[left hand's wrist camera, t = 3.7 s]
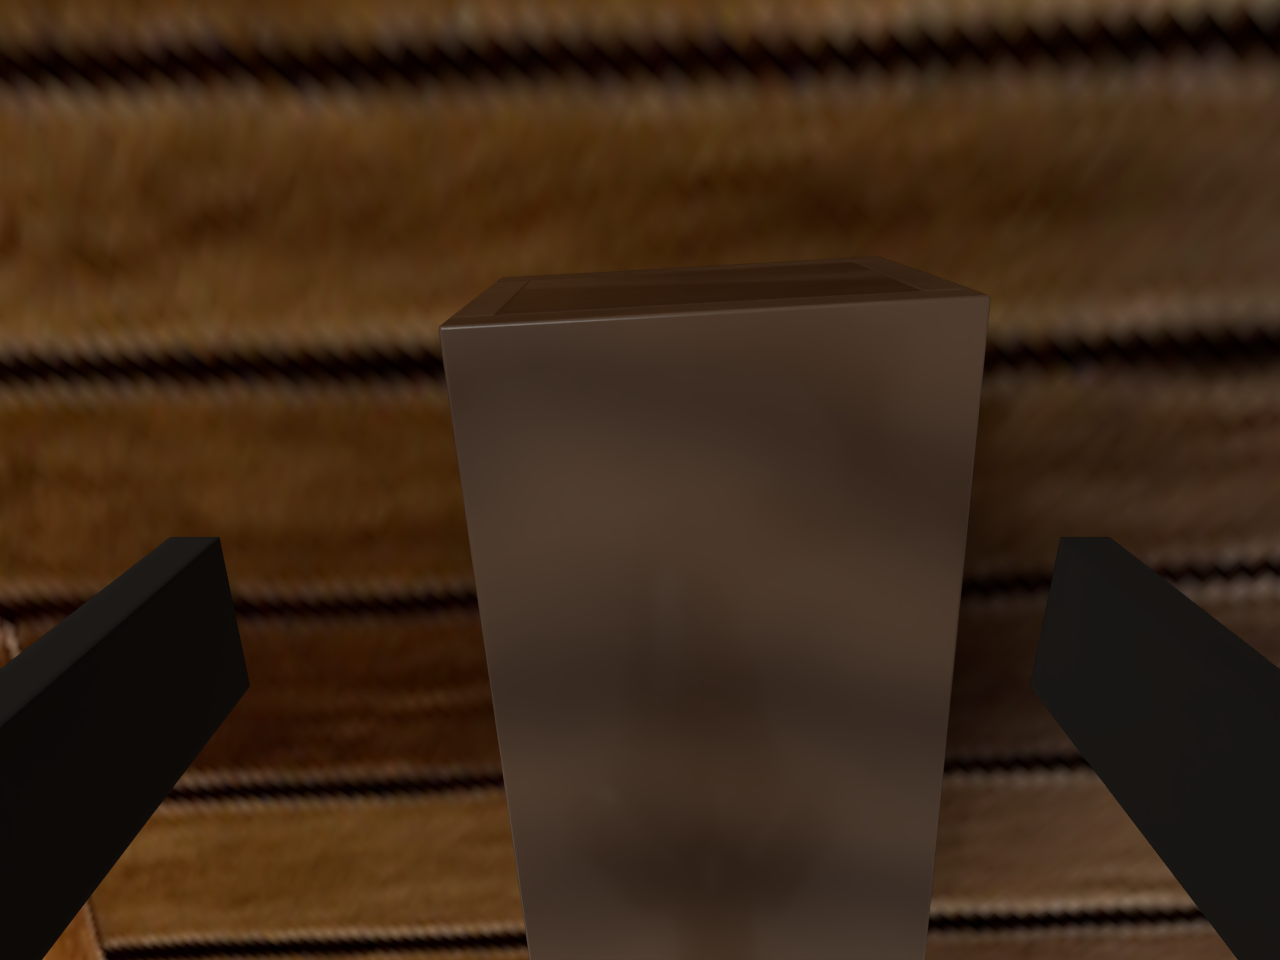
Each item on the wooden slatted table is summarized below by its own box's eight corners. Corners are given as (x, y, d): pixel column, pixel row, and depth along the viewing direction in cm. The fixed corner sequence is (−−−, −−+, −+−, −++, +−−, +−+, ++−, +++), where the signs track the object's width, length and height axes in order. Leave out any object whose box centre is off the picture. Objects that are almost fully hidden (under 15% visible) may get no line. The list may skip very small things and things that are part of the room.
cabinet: (854, 781, 31) (924, 979, 24) (559, 794, 32) (533, 994, 24) (880, 256, 24) (992, 295, 17) (500, 277, 24) (437, 325, 17)
